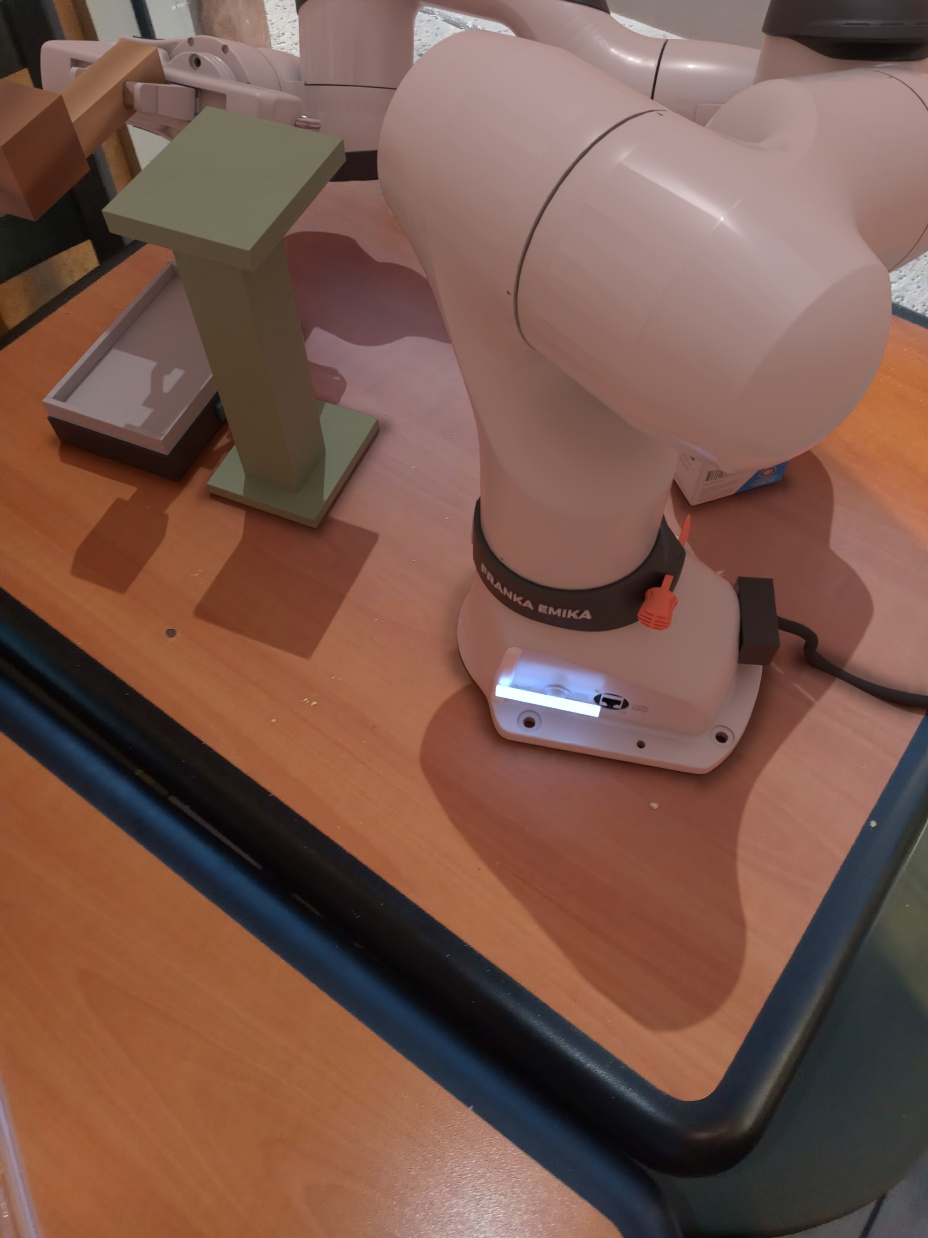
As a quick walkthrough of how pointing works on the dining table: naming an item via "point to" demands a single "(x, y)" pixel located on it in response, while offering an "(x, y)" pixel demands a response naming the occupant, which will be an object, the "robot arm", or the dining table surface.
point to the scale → (142, 386)
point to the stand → (250, 299)
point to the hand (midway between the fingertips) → (103, 89)
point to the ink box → (719, 479)
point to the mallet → (64, 127)
